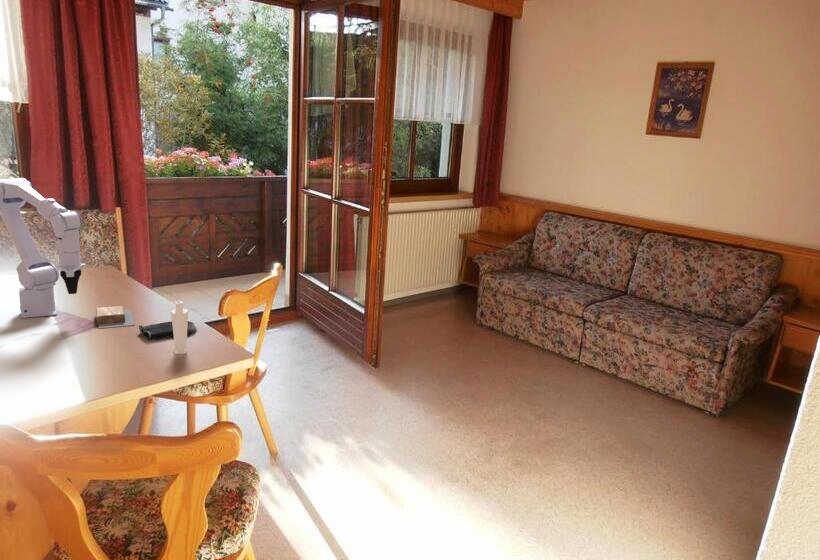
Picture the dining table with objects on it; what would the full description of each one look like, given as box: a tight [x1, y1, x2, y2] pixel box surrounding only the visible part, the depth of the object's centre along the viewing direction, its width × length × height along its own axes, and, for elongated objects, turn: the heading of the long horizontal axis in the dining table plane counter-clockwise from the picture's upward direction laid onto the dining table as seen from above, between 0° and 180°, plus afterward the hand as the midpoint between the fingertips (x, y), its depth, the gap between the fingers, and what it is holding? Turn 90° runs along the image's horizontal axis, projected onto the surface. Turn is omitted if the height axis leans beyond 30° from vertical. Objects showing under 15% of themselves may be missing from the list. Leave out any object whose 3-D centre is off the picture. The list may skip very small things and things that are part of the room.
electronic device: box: [138, 320, 197, 341], centre depth 177 cm, size 10×6×15 cm
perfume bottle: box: [170, 300, 189, 355], centre depth 163 cm, size 5×4×15 cm
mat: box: [98, 308, 136, 330], centre depth 186 cm, size 10×16×1 cm, turn 29°
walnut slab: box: [95, 305, 125, 325], centre depth 185 cm, size 3×9×8 cm
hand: (72, 293), depth 178 cm, fingers closed
